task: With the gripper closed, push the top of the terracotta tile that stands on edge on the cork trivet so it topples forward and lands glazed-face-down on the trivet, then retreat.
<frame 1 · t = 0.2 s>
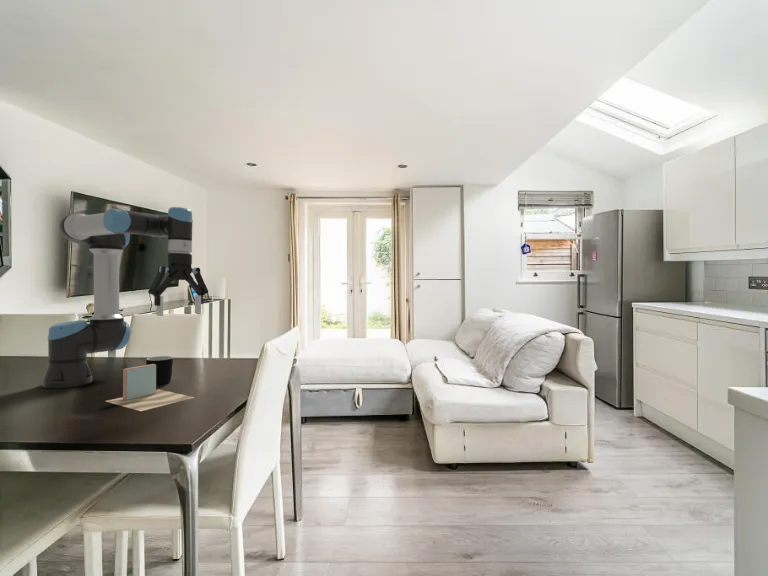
hand: (179, 314, 147), 28 cm above the table, fingers open, 13 cm apart
trivet: (150, 401, 139), on the table
tile: (140, 396, 142), point 1 cm above the table, touching trivet
mug: (158, 384, 162), on the table
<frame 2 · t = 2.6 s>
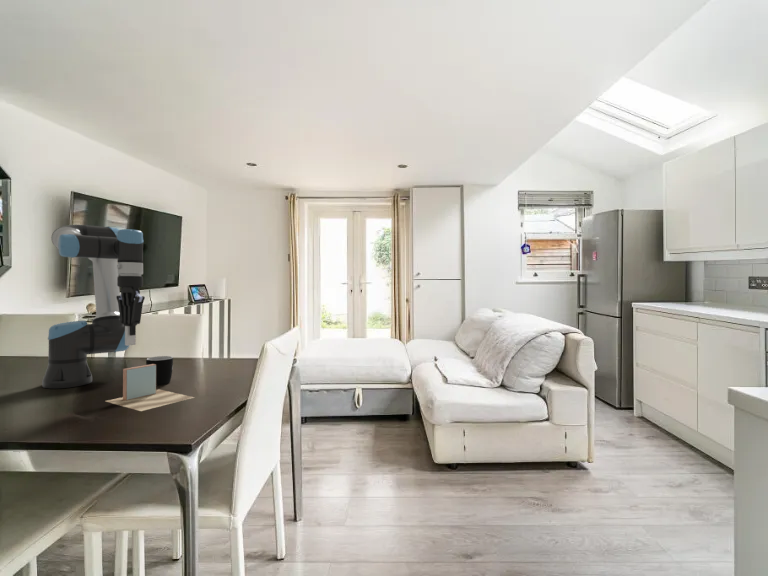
hand: (130, 344, 145), 17 cm above the table, fingers closed
nothing on the table moved.
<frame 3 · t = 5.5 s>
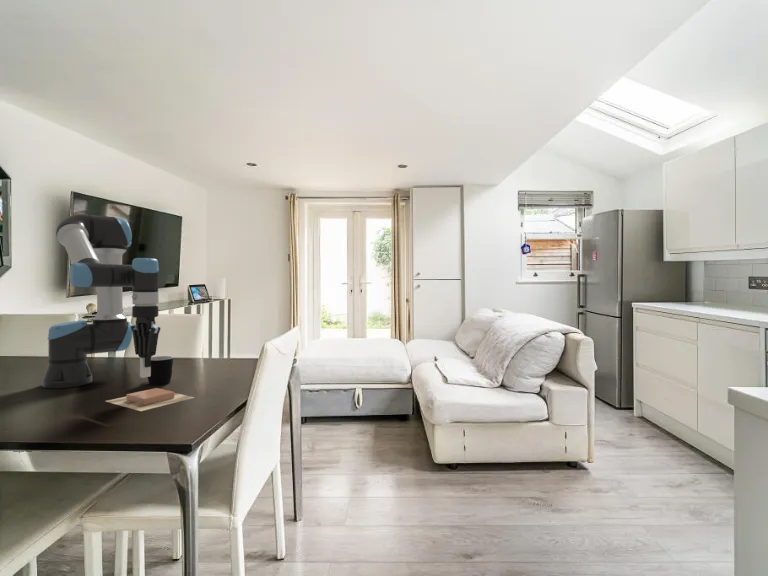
hand: (145, 376, 141), 8 cm above the table, fingers closed
tile: (141, 394, 142), point 2 cm above the table, tilted 90°, touching trivet
everything else where it was.
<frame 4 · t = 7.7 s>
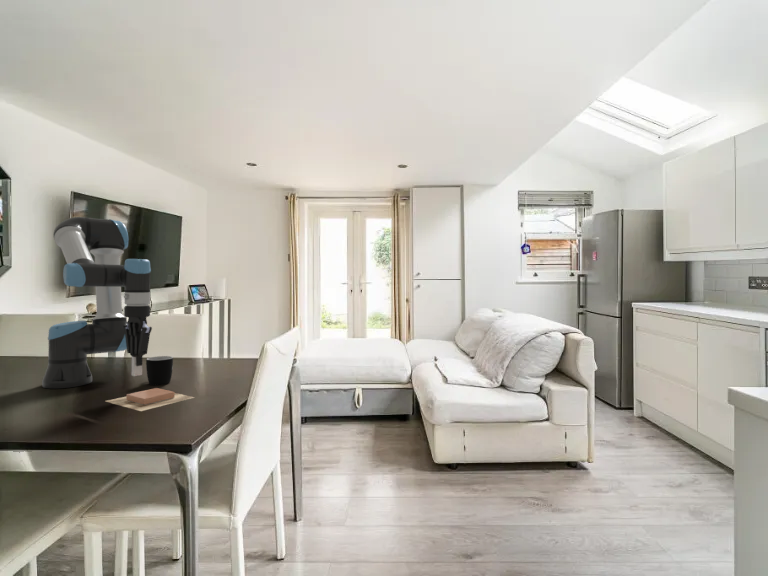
hand: (136, 375, 144), 7 cm above the table, fingers closed
nothing on the table moved.
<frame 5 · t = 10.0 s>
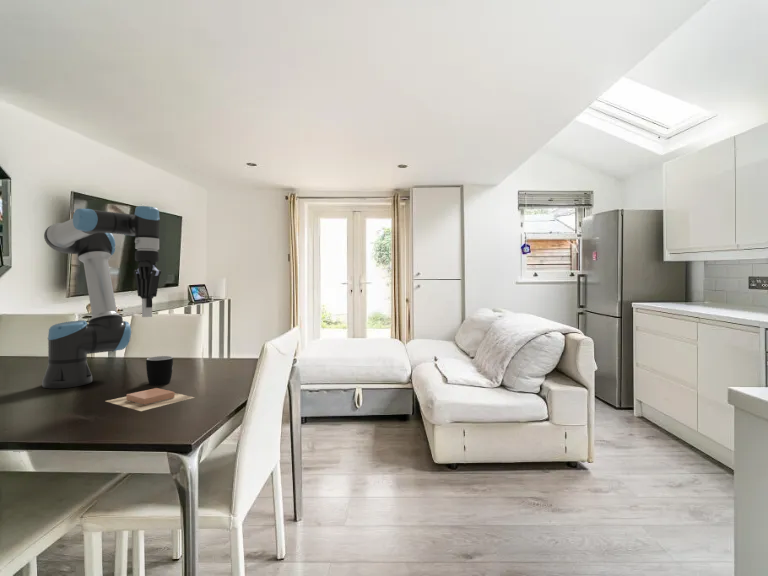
hand: (147, 316, 152), 26 cm above the table, fingers closed
nothing on the table moved.
at the end: tile tilted 90°; tile inside the target area on the trivet (5.5 cm from its centre), point 1.6 cm above the trivet's base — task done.
